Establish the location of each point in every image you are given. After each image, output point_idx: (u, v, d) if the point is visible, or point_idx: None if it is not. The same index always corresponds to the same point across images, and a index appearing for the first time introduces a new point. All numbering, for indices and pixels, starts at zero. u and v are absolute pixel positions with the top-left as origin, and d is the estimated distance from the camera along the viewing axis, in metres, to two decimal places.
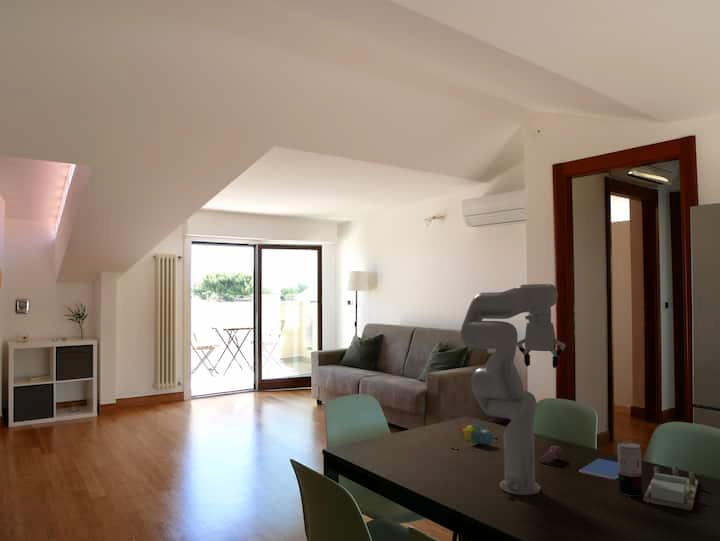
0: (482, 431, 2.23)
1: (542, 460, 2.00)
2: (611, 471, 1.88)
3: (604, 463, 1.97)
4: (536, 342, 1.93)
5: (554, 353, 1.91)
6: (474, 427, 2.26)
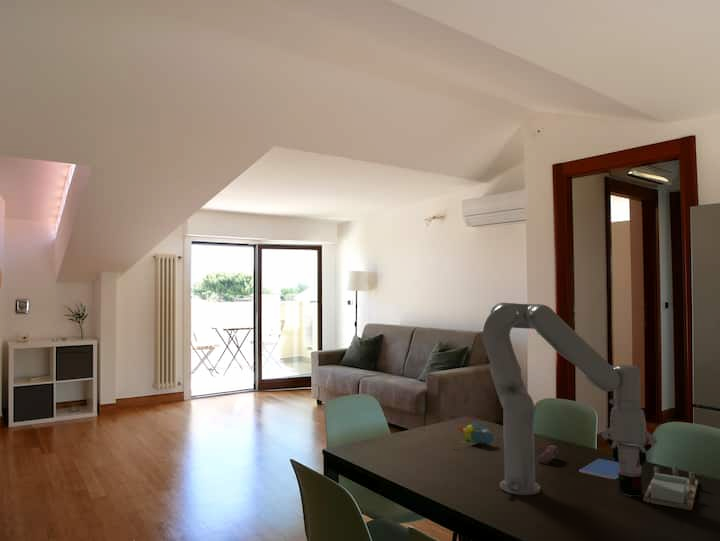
0: (482, 430, 2.23)
1: (540, 460, 2.01)
2: (611, 471, 1.88)
3: (605, 463, 1.97)
4: (624, 432, 1.68)
5: (642, 448, 1.67)
6: (474, 426, 2.27)
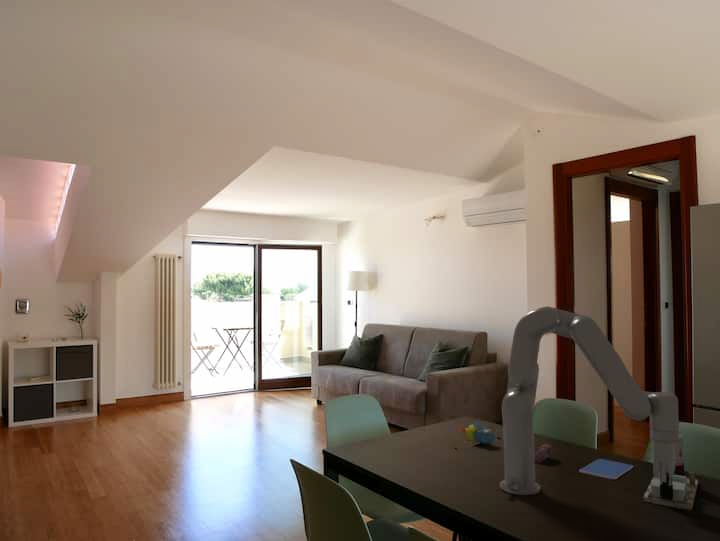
0: (484, 431, 2.24)
1: None
2: (611, 471, 1.88)
3: (605, 464, 1.97)
4: None
5: (660, 480, 1.59)
6: (476, 427, 2.27)
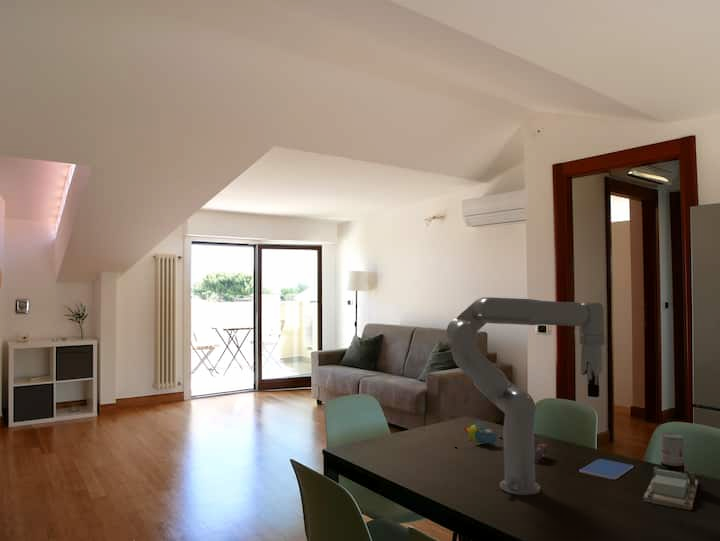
0: (486, 431, 2.24)
1: None
2: (611, 471, 1.88)
3: (605, 463, 1.97)
4: None
5: None
6: (478, 427, 2.27)
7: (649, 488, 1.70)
